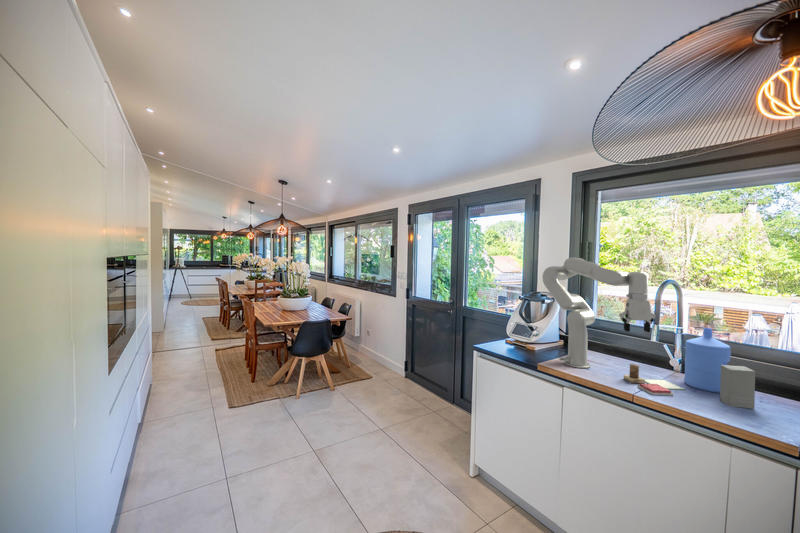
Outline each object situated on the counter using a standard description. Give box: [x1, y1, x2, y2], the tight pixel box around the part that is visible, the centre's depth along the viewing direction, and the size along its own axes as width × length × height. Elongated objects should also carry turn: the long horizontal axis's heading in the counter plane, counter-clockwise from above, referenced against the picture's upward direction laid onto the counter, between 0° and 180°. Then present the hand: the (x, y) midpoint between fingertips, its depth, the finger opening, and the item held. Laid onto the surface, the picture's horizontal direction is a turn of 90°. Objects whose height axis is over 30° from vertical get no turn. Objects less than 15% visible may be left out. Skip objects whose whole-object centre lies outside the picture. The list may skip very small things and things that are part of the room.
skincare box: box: [719, 364, 756, 410], centre depth 131 cm, size 8×7×16 cm
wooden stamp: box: [623, 363, 646, 385], centre depth 156 cm, size 6×6×8 cm
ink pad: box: [637, 383, 674, 397], centre depth 144 cm, size 9×9×2 cm
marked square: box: [643, 378, 686, 391], centre depth 152 cm, size 12×12×1 cm
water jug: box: [683, 327, 732, 394], centre depth 151 cm, size 16×16×28 cm
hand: (636, 331), depth 156 cm, fingers open, 9 cm apart
